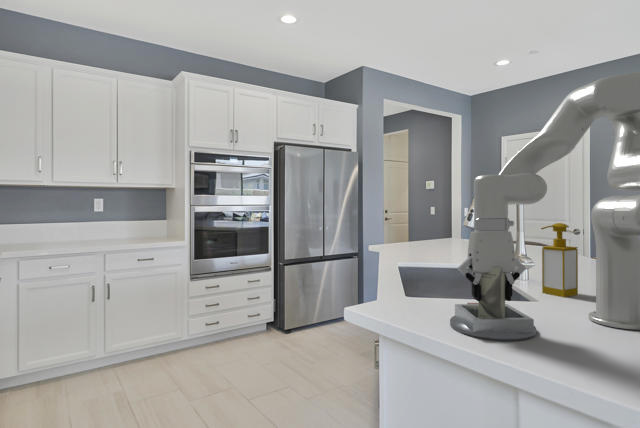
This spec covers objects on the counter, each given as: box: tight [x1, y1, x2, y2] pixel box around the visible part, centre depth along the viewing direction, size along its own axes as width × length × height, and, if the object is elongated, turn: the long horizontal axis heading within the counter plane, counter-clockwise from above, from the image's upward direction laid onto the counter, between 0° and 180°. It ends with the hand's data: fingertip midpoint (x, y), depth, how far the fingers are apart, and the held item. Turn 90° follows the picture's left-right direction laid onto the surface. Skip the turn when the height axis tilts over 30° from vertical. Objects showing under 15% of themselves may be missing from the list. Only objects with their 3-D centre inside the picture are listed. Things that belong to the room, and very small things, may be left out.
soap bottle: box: [541, 222, 579, 298], centre depth 125 cm, size 7×13×24 cm, turn 115°
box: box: [477, 267, 506, 318], centre depth 92 cm, size 5×4×13 cm
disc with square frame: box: [449, 302, 537, 342], centre depth 94 cm, size 19×22×4 cm
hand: (491, 299), depth 92 cm, fingers closed on box, 6 cm apart
